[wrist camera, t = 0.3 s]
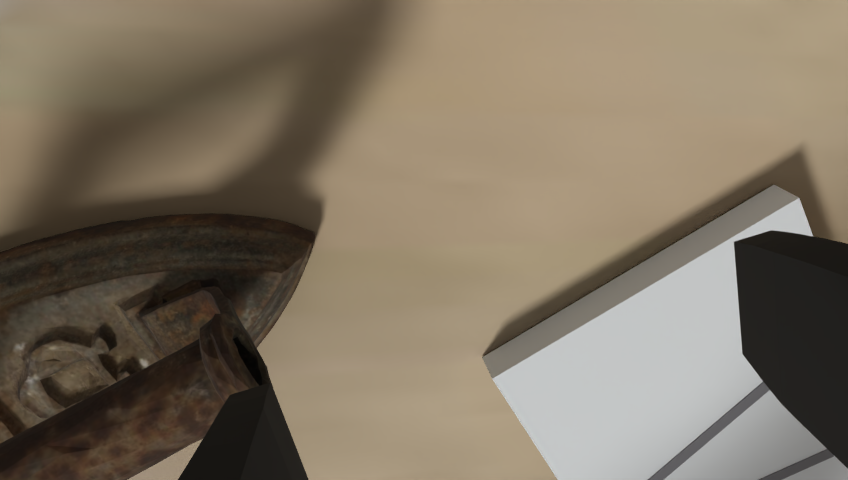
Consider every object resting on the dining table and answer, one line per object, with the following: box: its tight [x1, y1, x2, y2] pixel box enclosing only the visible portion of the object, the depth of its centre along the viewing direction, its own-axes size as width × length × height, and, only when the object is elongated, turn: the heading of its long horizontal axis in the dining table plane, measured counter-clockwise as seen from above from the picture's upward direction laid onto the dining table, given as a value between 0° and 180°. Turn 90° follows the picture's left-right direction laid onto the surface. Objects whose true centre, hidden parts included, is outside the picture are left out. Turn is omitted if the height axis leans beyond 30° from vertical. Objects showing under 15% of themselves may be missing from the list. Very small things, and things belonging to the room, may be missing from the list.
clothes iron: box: [0, 214, 315, 480], centre depth 18 cm, size 7×11×10 cm, turn 116°
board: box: [482, 185, 848, 480], centre depth 26 cm, size 18×10×1 cm, turn 30°
